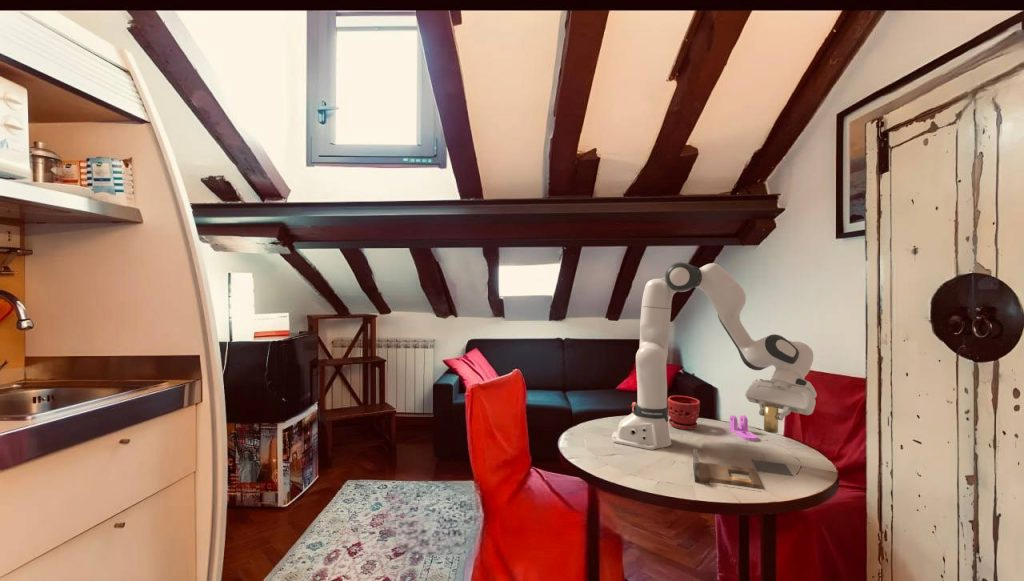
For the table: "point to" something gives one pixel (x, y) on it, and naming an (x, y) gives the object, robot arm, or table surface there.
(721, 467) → the socket block
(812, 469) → the table surface
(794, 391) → the robot arm
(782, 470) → the pad
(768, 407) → the brass peg
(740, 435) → the bracket
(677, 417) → the plant pot
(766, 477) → the table surface
